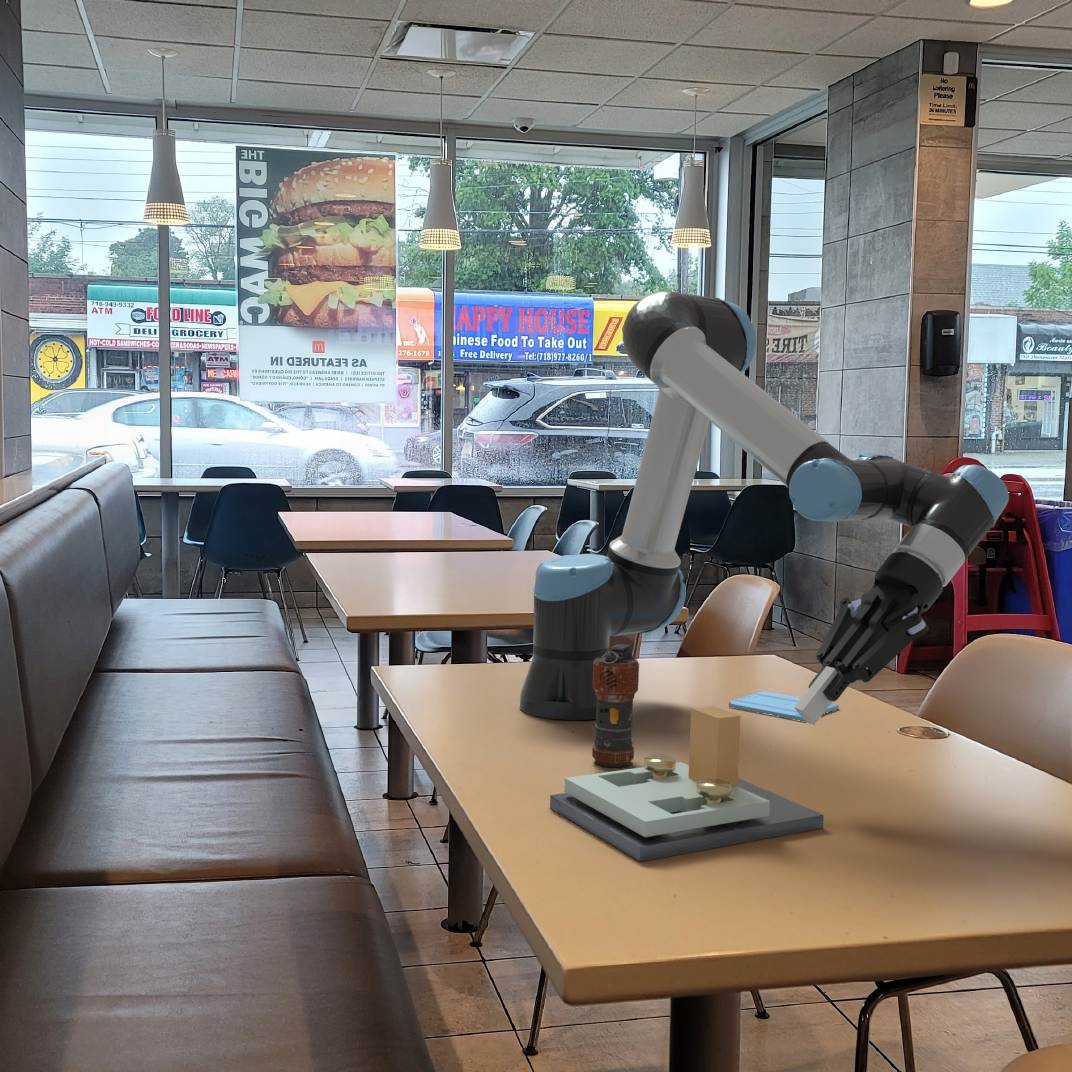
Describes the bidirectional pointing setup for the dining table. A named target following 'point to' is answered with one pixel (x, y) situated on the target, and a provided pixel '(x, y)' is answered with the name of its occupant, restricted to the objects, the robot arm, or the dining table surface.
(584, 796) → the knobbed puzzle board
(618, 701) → the grenade
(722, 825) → the mounting plate
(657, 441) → the robot arm
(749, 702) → the light blue flat panel
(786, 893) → the dining table surface
